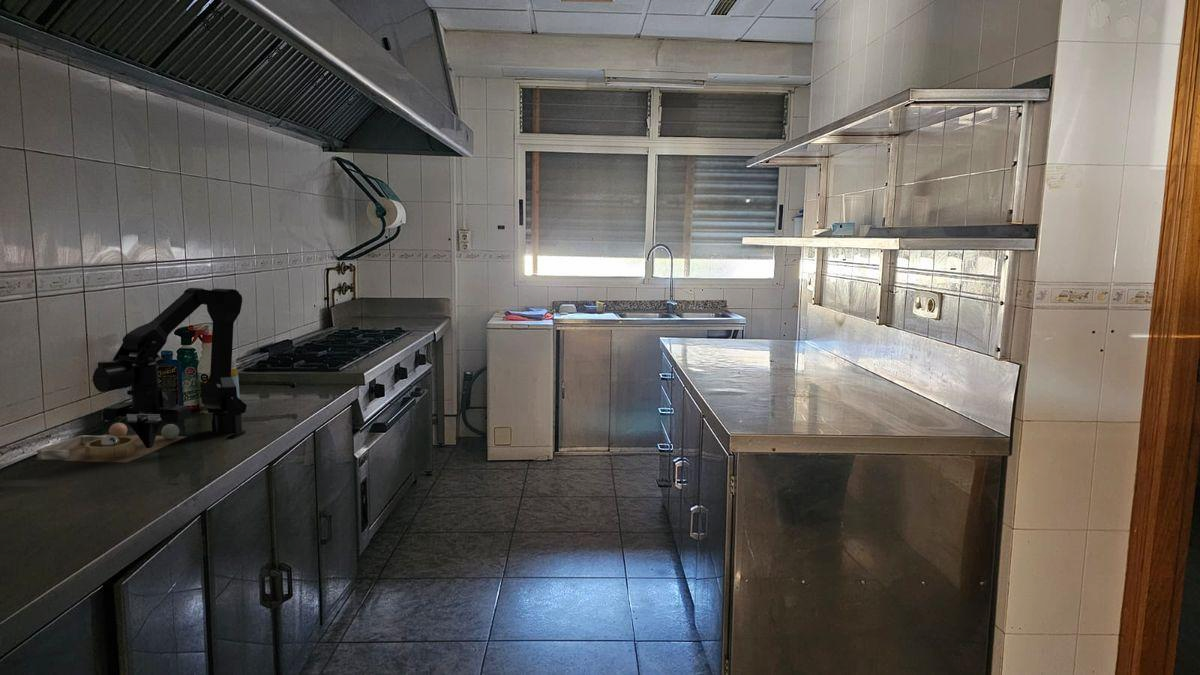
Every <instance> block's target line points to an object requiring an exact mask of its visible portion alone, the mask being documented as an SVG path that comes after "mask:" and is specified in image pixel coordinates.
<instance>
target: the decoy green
mask: <svg viewBox="0 0 1200 675" xmlns="http://www.w3.org/2000/svg"><path fill="white" fill-rule="evenodd" d="M160 434H161V436H163V437H164V438H165V439H168V440H171V439H174V438H176V437H177V436H179V434H180V428H179V426H177V425H176V424H173V423H168V424H166V425H164V426H163V427H162V429H161V432H160Z"/></svg>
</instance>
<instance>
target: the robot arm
mask: <svg viewBox="0 0 1200 675" xmlns="http://www.w3.org/2000/svg"><path fill="white" fill-rule="evenodd" d="M202 305H206V310H207V313H208V315H209V318H210V319H211V321H212V330H211V332H212V333H211V350H210V351H211V352H210V353H211V354H210V369H209V370H210V371H209V376H208V378H207V380H206V382H203V381H202V382H200V394H199V397H198V398H200V399H201V405H203V406H204V407H205V409H206V411H207V413H208V414H212V415H211V416H212V418H211V423H210V424H211V432H212V433H213V434H217V435H229V436H227V437H225V439H235V438H237V437H239V436H241V435H244V434H245V433H246V430H243V421H242V414H246V411H247V410H246V409H247V404H246V403H245V402H244V401H243V400H241V399H239V398H238V397H237V389H236V385H235V383H234V381H233V379H232V377H231V365H232V358H233V345H234V344H233V343H234V342H233V340H234V323H235V321H236V320H237V318H238V317H239V315H240V314H241V310H242V305H243V295H242V294H241V293H240V292H239V291H238V290H236V289H233V288H218V287H217V288H212V289H205V288H202V287H189V288H187V289H185V290H184V291H183V293H182V294H181V295H180V296H179V297H178V298H177V299H176V300H174V301H173V302H172V303H171V304H170V305H169V306H168V307H166V308H165V309H163V311H162V312H160V313H159V314H158V315H157V316H156V317H155V318H154V319H153V320H151V321H150V322H148V323H145V324H143V325H140V326H137V327H136V328H134V329H133V330H131V331H128V333H127V334H125V335H124V336H123V338H122V340H121V341H122V344H121V345H120V347H119V349H118V350H117V352H116V353H115V355H114V357H113V358H112V360H109V361H98V362H97V368H95V369H94V371H93V375H92V376H91V377H92V383H93V385H94V388H95V389H96V390H97V391H98V392H100V393H106V392H111V391H116V390H121V389H126V388H130V389H129V390H127V391H126V393H127V396H131V397H130V398H131V403H130V404H127V403H126V404H125V403H124V404H122V403H117V404H114V405H111V406H108V407H104V408H103V410H102V412H101V417H102V421H115V420H116V419H118V417H126V418H127V421H125V425H129V426H130V428H131V429H132V430H133V431H134V432H135V433H136V434H135V435H138V436H139V438H140V439H141V441H142V442H143V444H144V445H145V446H146V448H152V447H153V444H154V441H155V438H156V436H158V432H159V429H160V428H161V425H162V424H163V423H177V422H181V421H182V420H185V419H188V418H192V411H191V408H190V407H189V406H188V405H178V404H176V400H177V394H176V393H175V394H174V393H170V392H164V391H165V390H164V387H163V385H162V386H161V385H160V384H159V373H158V372H159V371H158V365H161V364H166V363H167V360H166V359H164V358H163V357H161V356H160V355H159V353H160V351H161V350H162V349H163V348H164V346H165V345H166V343H167V340H168V337H169V336H170V334H171V333H172V332H173V331H174V330H175V329H176V328H178V326H180V325H181V324H182V323H183V322H184V321H186V319H188V317H190V316H191V315H192V314H193V313H194V312H195V311H197V309H198V308H199V307H201V306H202Z"/></svg>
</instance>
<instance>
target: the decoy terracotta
mask: <svg viewBox="0 0 1200 675" xmlns="http://www.w3.org/2000/svg"><path fill="white" fill-rule="evenodd" d="M108 433H109V434H110V435H112V436H116V437H118V436H125V435H128V434H127V433H128V426H127V424H126V423H125V424H124V423H123V422H115V423H113V424H112V425H110V427H109V430H108Z"/></svg>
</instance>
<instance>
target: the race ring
mask: <svg viewBox="0 0 1200 675" xmlns="http://www.w3.org/2000/svg"><path fill="white" fill-rule="evenodd" d="M117 438H118V439H119V440H120V445H115V446H106V447H101V445H100V443H101V441H102V439H103V438H102V439H97V440H93V441H91V442H88V443H86V445H85V456H87V457H90V458H108V457H116V456H121V455H125V454H129V453H131V452H133V451H135V450H136V439H135V438H133V437H127V436H118V437H117Z"/></svg>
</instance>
